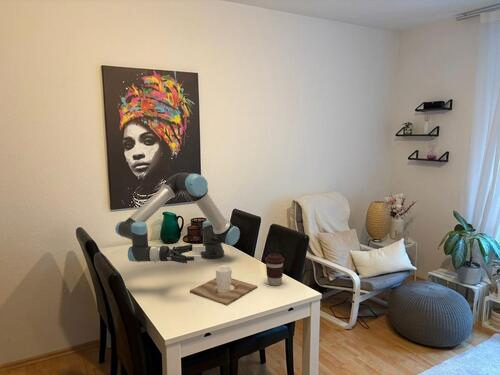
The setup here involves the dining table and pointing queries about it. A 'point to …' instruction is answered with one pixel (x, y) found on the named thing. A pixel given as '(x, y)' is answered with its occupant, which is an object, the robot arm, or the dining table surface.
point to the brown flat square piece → (223, 297)
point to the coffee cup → (274, 269)
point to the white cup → (223, 277)
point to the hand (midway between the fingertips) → (203, 253)
